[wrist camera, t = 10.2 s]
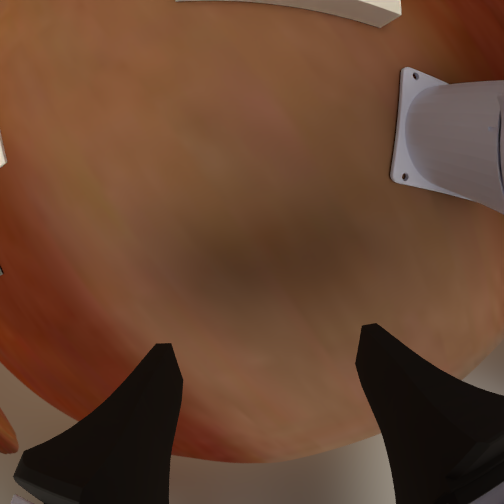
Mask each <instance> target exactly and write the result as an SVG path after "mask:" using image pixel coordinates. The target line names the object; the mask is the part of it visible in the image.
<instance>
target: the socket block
mask: <svg viewBox="0 0 504 504" xmlns="http://www.w3.org/2000/svg"><path fill="white" fill-rule="evenodd" d="M175 1H176V2H179V1H242V2H256V3H266V4H275V5H283V6H290V7H296V8H302V9H308V10H313V11H318V12H323V13H327V14H332V15H336V16H340V17H344V18H348V19H352V20H355V21H359V22H362V23H365V24H369V25H372V26H375V27H378V28H381V27H383V26H385V25H386V24H388V23H389V22H391V21H393V20H394V19H396V18H397V17H399V16H401V0H175Z"/></svg>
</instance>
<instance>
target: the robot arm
mask: <svg viewBox="0 0 504 504" xmlns="http://www.w3.org/2000/svg"><path fill="white" fill-rule="evenodd" d="M413 74H415V76H416V80H415V79H414V78H413ZM404 173H405V175H406V177H405V179H404V180H403V179H402V175H403V174H404ZM390 177H391V179H392V180H393V181H394V182H396V183H400V184H405V185H409V186H414V187H419V188H423V189H428V190H432V191H436V192H440V193H444V194H448V195H452V196H456V197H460V198H464V199H468V200H471V201H475V202H478V203H480V204H482V205H485V206H487V207H489V208H491V209H493V210H496V211H498V212H500V213H502V214H504V80H497V81H479V82H467V83H457V84H448V83H446V82H444V81H441V80H439V79H437V78H435V77H432V76H430V75H428V74H425V73H423V72H420V71H418V70H415V69H413V68H410V67H405V68H403V69H402V70H401V79H400V95H399V108H398V119H397V128H396V137H395V145H394V152H393V159H392V166H391V173H390ZM355 364H356V368H357V372H358V375H359V379H360V382H361V385H362V388H363V390H364V392H365V395H366V397H367V399H368V402H369V404H370V406H371V409H372V411H373V413H374V416H375V418H376V420H377V423H378V425H379V427H380V430H381V433H382V436H383V439H384V443H385V446H386V450H387V454H388V458H389V463H390V467H391V472H392V478H393V483H394V490H395V497H396V504H504V396H503V395H499V394H495V393H492V392H489V391H485V390H483V389H480V388H477V387H475V386H473V385H470V384H468V383H465V382H463V381H461V380H459V379H457V378H455V377H453V376H451V375H449V374H448V373H446V372H444V371H442V370H440V369H439V368H437V367H435V366H434V365H432V364H431V363H429V362H428V361H426V360H425V359H423V358H422V357H420V356H419V355H418V354H416V353H415V352H413V351H412V350H411V349H409V348H408V347H407V346H405V345H404V344H403V343H401V342H400V341H399V340H398V339H396V338H395V337H394V336H392V335H391V334H390V333H389V332H387V331H386V330H385V329H383V328H382V327H381V326H379V325H378V324H377V323H374V324H369V325H363V326H362V328H361V334H360V340H359V346H358V352H357V357H356V362H355ZM182 390H183V378H182V375H181V372H180V369H179V366H178V363H177V360H176V357H175V354H174V351H173V348H172V344H171V343H163V344H155V346H154V347H153V348H152V349H151V350H150V351H149V353H148V354H147V355H146V356H145V357H144V359H143V360H142V361H141V362H140V363H139V365H138V366H137V367H136V368H135V369H134V371H133V372H132V373H131V374H130V375H129V376H128V377H127V379H126V380H125V381H124V382H123V383H122V384H121V385H120V386H119V387H118V388H117V389H116V390H115V391H114V392H113V393H112V395H111V396H110V397H109V398H107V399H106V400H105V401H104V402H103V403H102V404H101V405H100V406H99V407H97V408H96V409H95V410H94V411H93V412H92V413H90V414H89V415H88V416H86V417H85V418H84V419H82V420H81V421H79V422H78V423H77V424H75V425H74V426H72V427H71V428H69V429H68V430H66V431H65V432H63V433H61V434H60V435H58V436H56V437H54V438H52V439H50V440H48V441H46V442H44V443H42V444H40V445H37V446H35V447H33V448H30V449H28V450H25V451H24V452H23V455H22V457H21V459H20V461H19V464H18V466H17V469H16V471H15V473H14V476H13V477H14V480H15V481H16V482H17V483H18V484H19V485H20V486H21V487H22V488H24V489H25V490H26V491H28V492H29V493H30V494H32V495H33V496H35V497H36V498H37V499H39V500H40V501H42V502H43V503H44V504H169V472H170V458H171V451H172V445H173V440H174V436H175V431H176V426H177V421H178V417H179V412H180V407H181V401H182ZM11 504H34V503H32V502H29V501H28V500H26V499H24V498H22V497H20V496H18V495H16V494H14V495H13V498H12V501H11Z"/></svg>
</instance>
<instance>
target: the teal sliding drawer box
mask: <svg viewBox="0 0 504 504" xmlns="http://www.w3.org/2000/svg"><path fill="white" fill-rule="evenodd" d="M6 163H7V159H6V155H5V150H4V146H3V142H2V137H1V132H0V168H1V167H2V166H3V165H5V164H6ZM2 274H3V273H2V271H1V269H0V275H2Z"/></svg>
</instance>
